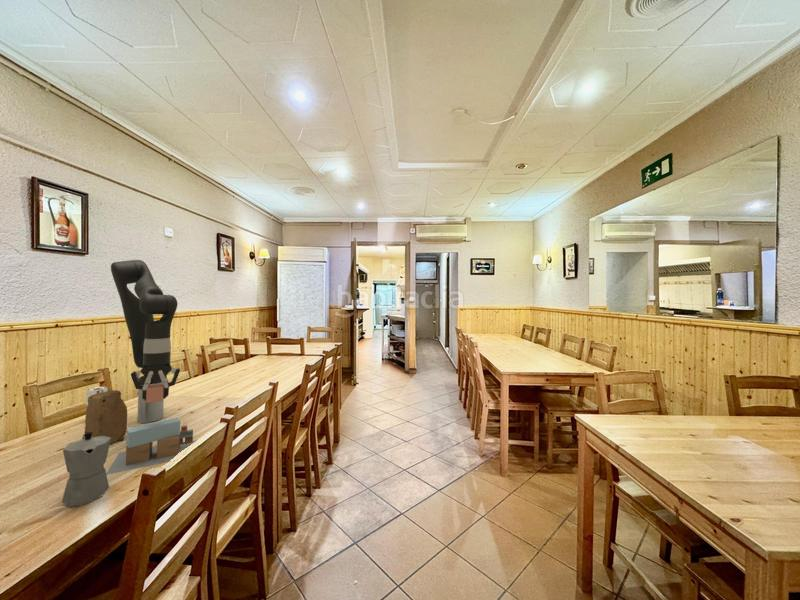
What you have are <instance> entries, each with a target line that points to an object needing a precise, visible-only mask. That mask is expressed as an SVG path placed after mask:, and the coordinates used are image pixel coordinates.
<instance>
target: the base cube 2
mask: <svg viewBox="0 0 800 600" xmlns="http://www.w3.org/2000/svg"><path fill="white" fill-rule="evenodd" d="M156 446H157V459H159V458H164V457H169V456H174V455H177V454H178V453H179V449H180V435H177V436H173V437H169V438H165V439H161V440H158V441H156Z"/></svg>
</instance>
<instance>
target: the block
mask: <svg viewBox="0 0 800 600" xmlns="http://www.w3.org/2000/svg"><path fill="white" fill-rule="evenodd" d="M84 423H85V426H84V434H85V433H88V432H93V433H92V436H91V437H98V436H106V437H110V438H111V441H110V446H111V445H115V444H116V443H119V442H122V440H123V439H124V437H125V436H126V435H127V428H128V406H127V405H126V403H125V401H124V400H123V398H122V393H121V390H118V389H117V390H115V389H113V390H111V389H110V390H109V389H108V391H106V392H101V393H97V394H94V395H91V396H89V397H88V405H87V406H86V411H85V422H84Z"/></svg>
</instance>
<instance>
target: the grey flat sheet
mask: <svg viewBox="0 0 800 600" xmlns="http://www.w3.org/2000/svg"><path fill="white" fill-rule="evenodd" d="M183 441H185V439H183ZM188 446H190V445H186V446H180V449H179V452H181V451H182V450H184V449H185V448H187V447H188ZM175 456H176V455H174V456H169V457H164V458H159V459H157V445H154V446H153V445H152V455H151V457H150V460H149V461H144V462H139V463H134V464H130V465H126V450H125V451H120V452H118V453H117V455H116V457H115V459H114V461H112V464H111V465H110V466H109V469H108V470H107V471H106V475H107V476H108V475H110V474H111V475H112V474H115V473H116V474H117V473H121V472H126V471H130V470H136V469H140V468H146V467H150V466H155V465H159V464H163V463H168V462H171V461H170V460H171V459H173V458H174V457H175Z"/></svg>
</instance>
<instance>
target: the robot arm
mask: <svg viewBox="0 0 800 600" xmlns="http://www.w3.org/2000/svg"><path fill="white" fill-rule="evenodd" d="M146 263H147V262H145V261H144V260H140V259H131V260H121V261H116V262H115V261H114V262H112V263H111V264H110V272H111V274H112V275H111V276H112V279H113V281H114V284H115V287H116V290H117V292H118V296H119V299H120V303H121V306H122V311H123V315H124V316H123V317H124V320H125V323H126V327H127V329H128V332H129V337H130V342H131V347H132V349H131V350H132V357H133V361H134V364H135V366H136V367H137V368H139V370H136V371H134V370H133V371H132V372H131V373H130V376H131V379H132V382H133V384H134V388H135V389H136V390H137V393H138V395H137V416H136V417H137V423H139V424H149V423H153V422H158V421H161V420H163V418H164V405H165V403H164V402H165V399H167V398H168V397H169V394H170V387H173V386H175V385H176V382H177V379H178V377H179V375H180V372H181V368H180V367H178V368H176V367H173V366H172V365H171V355H172V353H171V352H172V351H171V350H172V343H171V326H172V322H173V319H174V316H175V314H176V311H177V309H178V300H177V298H176V297H175V296H174V295H172V294H164V292H163V290H162V289H161V287H160V286H158V284H157V283H156V281H155V280H154V277H153V275H152V272H151V271H150V268H149V267H148V265H147V264H146ZM130 284H135V285H134V289H133V290H134V293H133V292H132V291H131V290H130V289H129V288H128V285H130ZM154 315H162V316H161V317H160V318H159V319H157V320H155V317H154ZM170 372H171V373H172V375H173V377H172V379H171V381H170V382H169V380H168V379H169V378H168V376H167V375H169V373H170ZM141 374H142V376H141ZM156 384H163V385H164V393H163V401H158V402H150V403H146V390H147V387H148V386H149V385H156Z"/></svg>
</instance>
